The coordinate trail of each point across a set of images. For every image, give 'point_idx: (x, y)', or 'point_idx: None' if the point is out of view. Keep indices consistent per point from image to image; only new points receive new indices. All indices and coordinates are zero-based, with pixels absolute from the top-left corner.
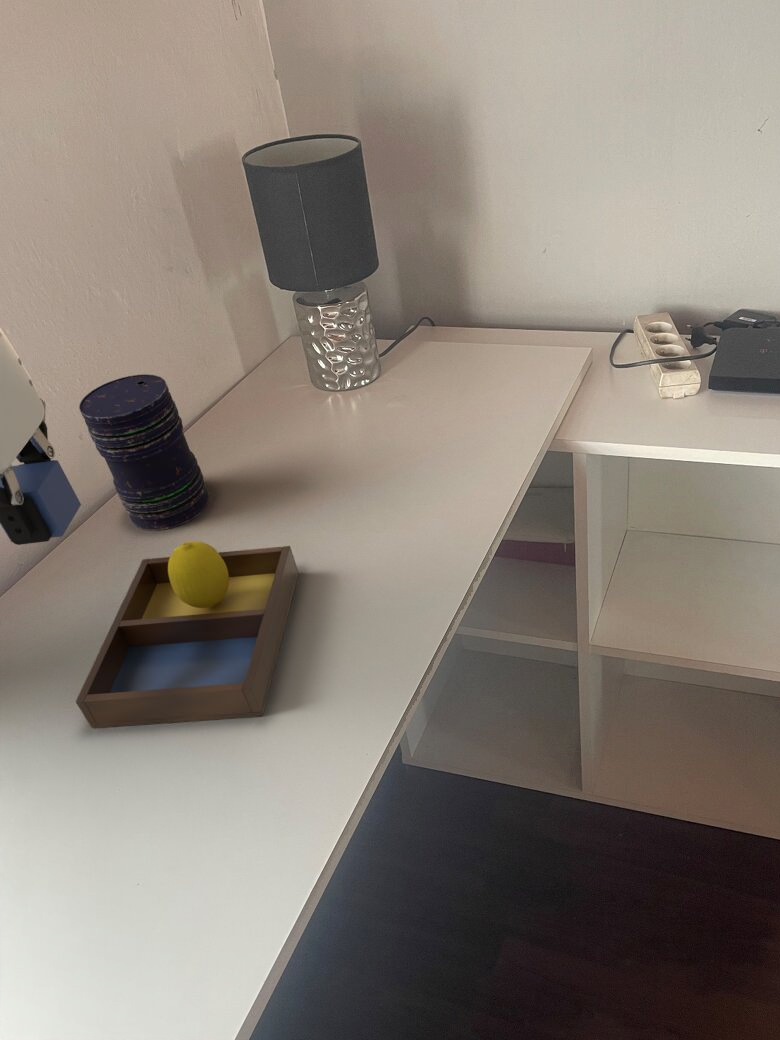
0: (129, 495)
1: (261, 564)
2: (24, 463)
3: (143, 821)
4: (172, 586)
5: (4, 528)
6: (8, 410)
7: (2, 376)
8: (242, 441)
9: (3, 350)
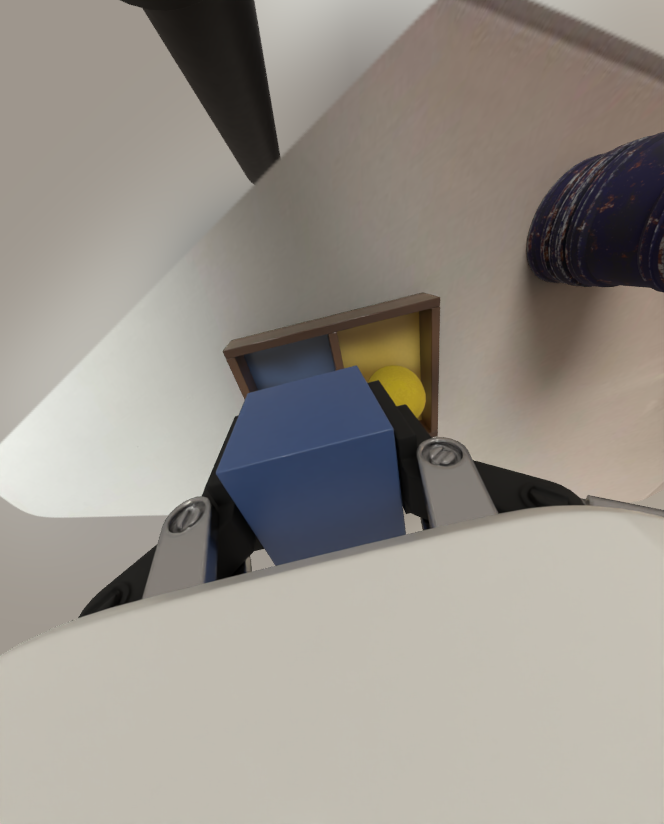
0: (588, 203)
1: (425, 408)
2: (405, 469)
3: (176, 427)
4: (376, 380)
5: (227, 436)
6: None
7: None
8: None
9: None
